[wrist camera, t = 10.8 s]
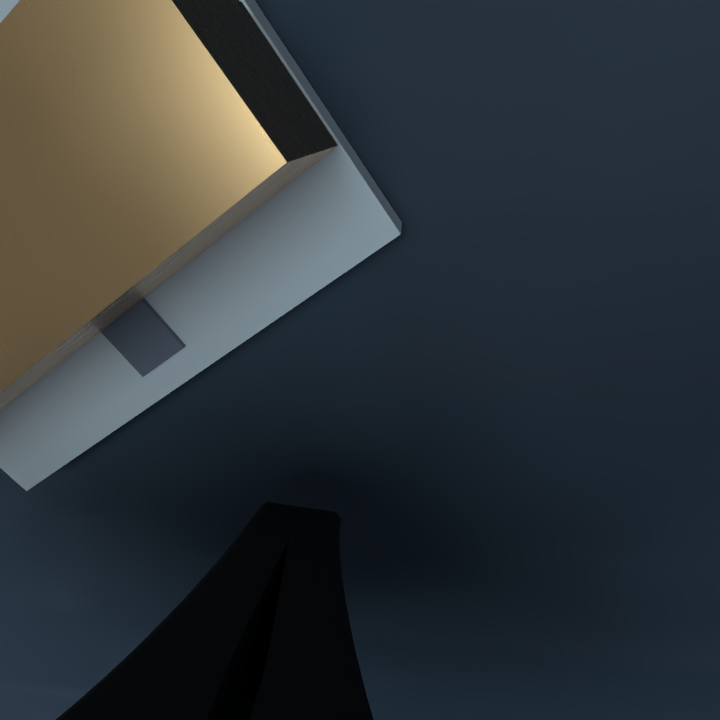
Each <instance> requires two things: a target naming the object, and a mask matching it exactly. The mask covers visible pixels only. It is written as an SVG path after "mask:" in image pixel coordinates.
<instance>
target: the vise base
mask: <svg viewBox="0 0 720 720" xmlns="http://www.w3.org/2000/svg"><path fill="white" fill-rule="evenodd" d="M19 1H20V0H0V23H1V22H2V20H3V19H4V18H5V17H6V16H7V15H8V13H9V12H10V11H11V10H12V9H13V8H14V6H15V5H16V4H17V3H18V2H19ZM239 1H241V2H242V3H243V4H244V6H245V7H246V9H247V10H248V12H249V13H250V15H251V16H252V18H253V19H254V21H255V22H256V24H257V25H258V27H259V28H260V30H261V31H262V33H263V34H264V36H265V37H266V39H267V40H268V42H269V43H270V45H271V46H272V48H273V49H274V51H275V52H276V54H277V55H278V57H279V58H280V60H281V61H282V63H283V64H284V66H285V67H286V69H287V70H288V72H289V73H290V75H291V76H292V78H293V79H294V81H295V82H296V83H297V85H298V86H299V88H300V89H301V91H302V92H303V94H304V95H305V97H306V98H307V100H308V101H309V103H310V104H311V106H312V107H313V109H314V110H315V112H316V113H317V115H318V116H319V118H320V119H321V121H322V122H323V124H324V125H325V127H326V128H327V130H328V131H329V133H330V134H331V136H332V137H333V139H334V140H335V142H336V143H337V145H338V146H337V147H336V148H335V149H333V150H332V151H331V152H329V153H328V154H327V155H326V156H324V157H323V158H322V159H320V160H319V161H318V162H317V163H315V164H314V165H313V166H312V167H310V168H309V169H308V170H306V171H305V172H304V173H303V174H301V175H300V176H299V177H298V178H296V179H295V180H294V181H292V182H291V183H290V184H289V185H287V186H286V187H285V188H283V189H282V190H281V191H280V192H278V193H277V194H276V195H275V196H273V197H272V198H271V199H269V200H268V201H267V202H266V203H264V204H263V205H262V206H260V207H259V208H258V209H257V210H255V211H254V212H253V213H252V214H250V215H249V216H248V217H246V218H245V219H244V220H243V221H241V222H240V223H239V224H238V225H236V226H235V227H234V228H232V229H231V230H230V231H229V232H227V233H226V234H225V235H223V236H222V237H221V238H220V239H218V240H217V241H216V242H215V243H213V244H212V245H211V246H209V247H208V248H207V249H206V250H204V251H203V252H202V253H201V254H199V255H198V256H197V257H195V258H194V259H193V260H192V261H190V262H189V263H188V264H186V265H185V266H184V267H183V268H181V269H180V270H179V271H178V272H176V273H175V274H174V275H172V276H171V277H170V278H169V279H167V280H166V281H165V282H164V283H162V284H161V285H160V286H158V287H157V288H156V289H155V290H153V291H152V292H151V293H149V294H148V295H147V296H146V297H144V298H143V299H142V300H141V301H139V302H138V303H137V304H135V305H134V306H133V307H132V308H130V309H129V310H128V311H126V312H125V313H124V314H123V315H121V316H120V317H119V318H118V319H116V320H115V321H114V322H112V323H111V324H110V325H109V326H107V327H106V328H105V329H104V330H102V331H101V332H100V333H98V334H97V335H96V336H95V337H93V338H92V339H91V340H89V341H88V342H87V343H86V344H84V345H83V346H82V347H81V348H79V349H78V350H77V351H75V352H74V353H73V354H72V355H70V356H69V357H68V358H67V359H65V360H64V361H63V362H61V363H60V364H59V365H58V366H56V367H55V368H54V369H52V370H51V371H50V372H49V373H47V374H46V375H45V376H44V377H42V378H41V379H40V380H38V381H37V382H36V383H35V384H33V385H32V386H31V387H29V388H28V389H27V390H26V391H24V392H23V393H22V394H21V395H19V396H18V397H17V398H15V399H14V400H13V401H12V402H10V403H9V404H8V405H7V406H5V407H4V408H3V409H1V410H0V468H1V469H2V470H3V471H5V472H6V473H7V474H8V475H9V476H10V477H11V478H12V479H13V480H15V481H16V482H17V483H18V484H19V485H20V486H21V487H22V488H23V489H25V490H26V491H28V490H29V489H30V488H32V487H33V486H35V485H36V484H38V483H39V482H41V481H42V480H44V479H45V478H46V477H48V476H49V475H51V474H52V473H54V472H55V471H57V470H58V469H60V468H61V467H62V466H64V465H65V464H67V463H68V462H70V461H71V460H73V459H74V458H76V457H77V456H79V455H80V454H81V453H83V452H84V451H86V450H87V449H89V448H90V447H92V446H93V445H95V444H96V443H97V442H99V441H100V440H102V439H103V438H105V437H106V436H108V435H109V434H111V433H112V432H113V431H115V430H116V429H118V428H119V427H121V426H122V425H124V424H125V423H127V422H128V421H129V420H131V419H132V418H134V417H135V416H137V415H138V414H140V413H141V412H143V411H144V410H146V409H147V408H148V407H150V406H151V405H153V404H154V403H156V402H157V401H159V400H160V399H162V398H163V397H164V396H166V395H167V394H169V393H170V392H172V391H173V390H175V389H176V388H178V387H179V386H180V385H182V384H183V383H185V382H186V381H188V380H189V379H191V378H192V377H194V376H195V375H196V374H198V373H199V372H201V371H202V370H204V369H205V368H207V367H208V366H210V365H211V364H213V363H214V362H215V361H217V360H218V359H220V358H221V357H223V356H224V355H226V354H227V353H229V352H230V351H231V350H233V349H234V348H236V347H237V346H239V345H240V344H242V343H243V342H245V341H246V340H247V339H249V338H250V337H252V336H253V335H255V334H256V333H258V332H259V331H261V330H262V329H263V328H265V327H266V326H268V325H269V324H271V323H272V322H274V321H275V320H277V319H278V318H280V317H281V316H282V315H284V314H285V313H287V312H288V311H290V310H291V309H293V308H294V307H296V306H297V305H298V304H300V303H301V302H303V301H304V300H306V299H307V298H309V297H310V296H312V295H313V294H314V293H316V292H317V291H319V290H320V289H322V288H323V287H325V286H326V285H328V284H329V283H330V282H332V281H333V280H335V279H336V278H338V277H339V276H341V275H342V274H344V273H345V272H346V271H348V270H349V269H351V268H352V267H354V266H355V265H357V264H358V263H360V262H361V261H363V260H364V259H365V258H367V257H368V256H370V255H371V254H373V253H374V252H376V251H377V250H379V249H380V248H381V247H383V246H384V245H386V244H387V243H389V242H390V241H392V240H393V239H395V238H396V237H397V236H399V235H400V234H401V226H402V222H401V220H400V219H399V217H398V216H397V214H396V213H395V211H394V210H393V208H392V207H391V205H390V204H389V202H388V201H387V199H386V198H385V196H384V195H383V193H382V192H381V190H380V189H379V187H378V186H377V184H376V183H375V181H374V180H373V178H372V177H371V175H370V174H369V172H368V171H367V169H366V168H365V166H364V165H363V163H362V162H361V160H360V159H359V157H358V156H357V154H356V153H355V151H354V150H353V148H352V147H351V145H350V144H349V142H348V141H347V139H346V138H345V136H344V134H343V133H342V131H341V130H340V128H339V127H338V125H337V124H336V122H335V121H334V119H333V118H332V116H331V115H330V113H329V112H328V110H327V109H326V107H325V106H324V104H323V103H322V101H321V100H320V98H319V97H318V95H317V94H316V92H315V91H314V89H313V88H312V86H311V85H310V83H309V82H308V80H307V79H306V77H305V76H304V74H303V73H302V71H301V70H300V68H299V67H298V65H297V64H296V62H295V61H294V59H293V58H292V56H291V55H290V53H289V52H288V50H287V48H286V47H285V45H284V44H283V42H282V41H281V39H280V38H279V36H278V35H277V33H276V32H275V30H274V29H273V27H272V26H271V24H270V23H269V21H268V20H267V18H266V17H265V15H264V14H263V12H262V11H261V9H260V8H259V6H258V5H257V3H256V2H255V0H239Z"/></svg>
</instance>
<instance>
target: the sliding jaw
mask: <svg viewBox="0 0 720 720" xmlns="http://www.w3.org/2000/svg"><path fill="white" fill-rule="evenodd" d="M337 146H338V145H337V143H336V142H335V140H334V139H333V137H332V136H331V134H330V133H329V131H328V130H327V128H326V127H325V125H324V124H323V122H322V121H321V119H320V118H319V116H318V115H317V113H316V112H315V110H314V109H313V107H312V106H311V104H310V103H309V101H308V100H307V98H306V97H305V95H304V94H303V92H302V91H301V89H300V88H299V86H298V85H297V83H296V82H295V81H294V79H293V78H292V76H291V75H290V73H289V72H288V70H287V69H286V67H285V66H284V64H283V63H282V61H281V60H280V58H279V57H278V55H277V54H276V52H275V51H274V49H273V48H272V46H271V45H270V43H269V42H268V40H267V39H266V37H265V36H264V34H263V33H262V31H261V30H260V28H259V27H258V25H257V24H256V22H255V21H254V19H253V18H252V16H251V15H250V13H249V12H248V10H247V9H246V7H245V6H244V4H243V3H242V2H241V1H239V0H20V1H19V2H18V3H17V4H16V5H15V6H14V8H13V9H12V10H11V11H10V12H9V13H8V15H7V16H6V17H5V18H4V19H3V20H2V22H1V23H0V410H1V409H3V408H4V407H5V406H7V405H8V404H9V403H10V402H12V401H13V400H14V399H15V398H17V397H18V396H19V395H21V394H22V393H23V392H24V391H26V390H27V389H28V388H29V387H31V386H32V385H33V384H35V383H36V382H37V381H38V380H40V379H41V378H42V377H44V376H45V375H46V374H47V373H49V372H50V371H51V370H52V369H54V368H55V367H56V366H58V365H59V364H60V363H61V362H63V361H64V360H65V359H67V358H68V357H69V356H70V355H72V354H73V353H74V352H75V351H77V350H78V349H79V348H81V347H82V346H83V345H84V344H86V343H87V342H88V341H89V340H91V339H92V338H93V337H95V336H96V335H97V334H98V333H100V332H101V331H102V330H104V329H105V328H106V327H107V326H109V325H110V324H111V323H112V322H114V321H115V320H116V319H118V318H119V317H120V316H121V315H123V314H124V313H125V312H126V311H128V310H129V309H130V308H132V307H133V306H134V305H135V304H137V303H138V302H139V301H141V300H142V299H143V298H144V297H146V296H147V295H148V294H149V293H151V292H152V291H153V290H155V289H156V288H157V287H158V286H160V285H161V284H162V283H164V282H165V281H166V280H167V279H169V278H170V277H171V276H172V275H174V274H175V273H176V272H178V271H179V270H180V269H181V268H183V267H184V266H185V265H186V264H188V263H189V262H190V261H192V260H193V259H194V258H195V257H197V256H198V255H199V254H201V253H202V252H203V251H204V250H206V249H207V248H208V247H209V246H211V245H212V244H213V243H215V242H216V241H217V240H218V239H220V238H221V237H222V236H223V235H225V234H226V233H227V232H229V231H230V230H231V229H232V228H234V227H235V226H236V225H238V224H239V223H240V222H241V221H243V220H244V219H245V218H246V217H248V216H249V215H250V214H252V213H253V212H254V211H255V210H257V209H258V208H259V207H260V206H262V205H263V204H264V203H266V202H267V201H268V200H269V199H271V198H272V197H273V196H275V195H276V194H277V193H278V192H280V191H281V190H282V189H283V188H285V187H286V186H287V185H289V184H290V183H291V182H292V181H294V180H295V179H296V178H298V177H299V176H300V175H301V174H303V173H304V172H305V171H306V170H308V169H309V168H310V167H312V166H313V165H314V164H315V163H317V162H318V161H319V160H320V159H322V158H323V157H324V156H326V155H327V154H328V153H329V152H331V151H332V150H333V149H335V148H336V147H337Z"/></svg>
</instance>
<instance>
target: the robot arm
mask: <svg viewBox="0 0 720 720" xmlns="http://www.w3.org/2000/svg"><path fill="white" fill-rule="evenodd" d="M340 522H341V518H340V517H339V516H338V514H337V513H336V512H331V511H325V510H318V509H311V508H304V507H297V506H290V505H283V504H276V503H269V502H267V503H265V504H264V505H262V506H261V507H260V508H259V509H258V511H257V512H256V514H255V515H254V517H253V518H252V519H251V521H250V522H249V523H248V525H247V526H246V527H245V529H244V530H243V531H242V532H241V534H240V535H239V536H238V538H237V539H236V540H235V541H234V543H233V544H232V545H231V546H230V547H229V549H228V550H227V551H226V552H225V553H224V555H223V556H222V557H221V558H220V559H219V561H218V562H217V563H216V564H215V565H214V566H213V567H212V569H211V570H210V571H209V572H208V573H207V574H206V575H205V576H204V578H203V579H202V580H201V581H200V582H199V583H198V584H197V585H196V587H195V588H194V589H193V590H192V591H191V592H190V593H189V594H188V595H187V597H186V598H185V599H184V600H183V601H182V602H181V603H180V604H179V605H178V606H177V607H176V608H175V609H174V610H173V611H172V612H171V613H170V614H169V615H168V616H167V617H166V618H165V619H164V620H163V621H162V622H161V623H160V624H159V625H158V626H157V627H156V628H155V629H154V631H153V632H152V633H151V634H150V635H149V636H148V637H147V638H146V639H145V640H144V641H143V642H142V643H141V644H140V645H139V646H138V647H137V648H135V649H134V650H133V651H132V652H131V653H130V654H129V655H128V656H127V657H126V658H125V659H124V660H123V661H122V662H121V663H120V664H119V665H118V666H116V667H115V668H114V669H113V670H112V671H111V672H110V673H109V674H108V675H107V676H106V677H104V678H103V679H102V680H101V681H100V682H99V683H98V684H97V685H95V686H94V687H93V688H92V689H91V690H90V691H89V692H88V693H86V694H85V695H84V696H83V697H82V698H81V699H80V700H79V701H77V702H76V703H75V704H74V705H73V706H72V707H70V708H69V709H68V710H67V711H66V712H64V713H63V714H62V715H61V716H60V717H58V718H57V719H56V720H373V717H372V713H371V710H370V706H369V703H368V699H367V695H366V692H365V688H364V684H363V680H362V676H361V672H360V668H359V664H358V660H357V656H356V652H355V647H354V642H353V638H352V633H351V628H350V623H349V617H348V612H347V606H346V600H345V595H344V588H343V581H342V573H341V563H340V549H339V532H340Z"/></svg>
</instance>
